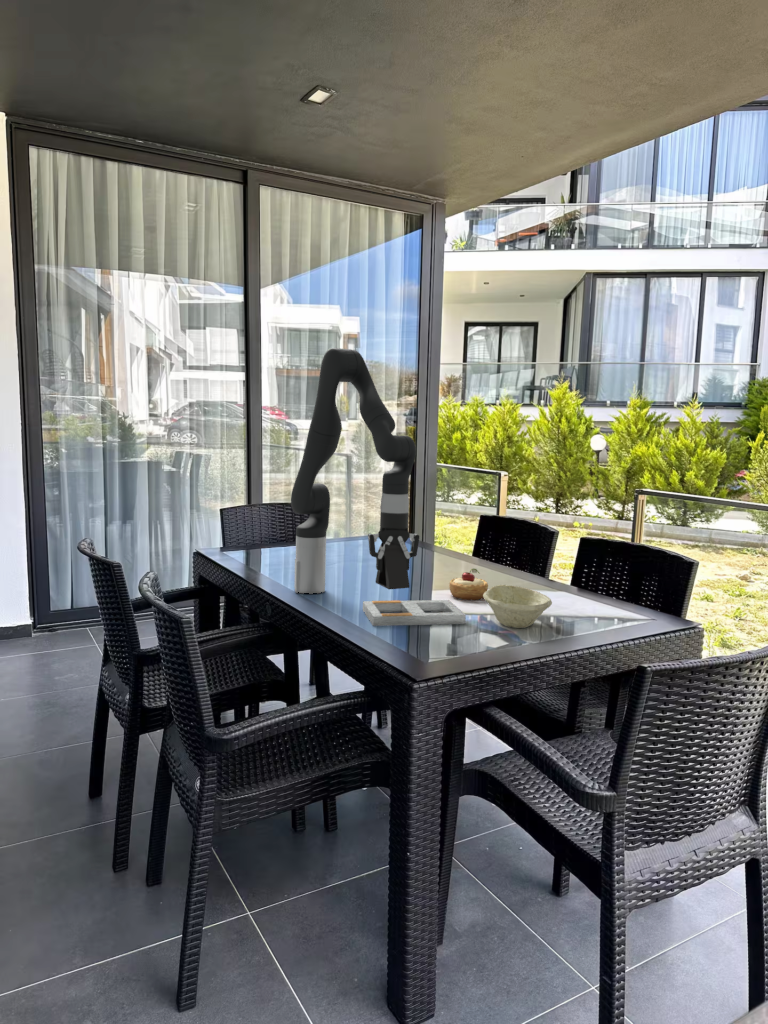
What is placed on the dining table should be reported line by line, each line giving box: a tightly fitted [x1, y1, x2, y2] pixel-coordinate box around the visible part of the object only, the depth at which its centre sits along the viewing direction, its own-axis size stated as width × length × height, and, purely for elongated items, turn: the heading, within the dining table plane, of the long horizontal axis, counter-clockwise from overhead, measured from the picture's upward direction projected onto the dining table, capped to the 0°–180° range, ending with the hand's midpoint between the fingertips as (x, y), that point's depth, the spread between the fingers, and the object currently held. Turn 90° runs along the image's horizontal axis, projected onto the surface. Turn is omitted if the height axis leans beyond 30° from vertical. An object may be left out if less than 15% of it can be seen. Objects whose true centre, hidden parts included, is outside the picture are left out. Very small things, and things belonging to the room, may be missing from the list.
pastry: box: [448, 568, 489, 601], centre depth 226 cm, size 12×12×9 cm
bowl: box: [483, 584, 553, 629], centre depth 195 cm, size 14×18×15 cm
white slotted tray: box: [362, 599, 467, 627], centre depth 200 cm, size 25×16×3 cm, turn 101°
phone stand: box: [375, 541, 411, 590], centre depth 198 cm, size 9×6×12 cm, turn 24°
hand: (392, 571), depth 198 cm, fingers closed on phone stand, 6 cm apart
